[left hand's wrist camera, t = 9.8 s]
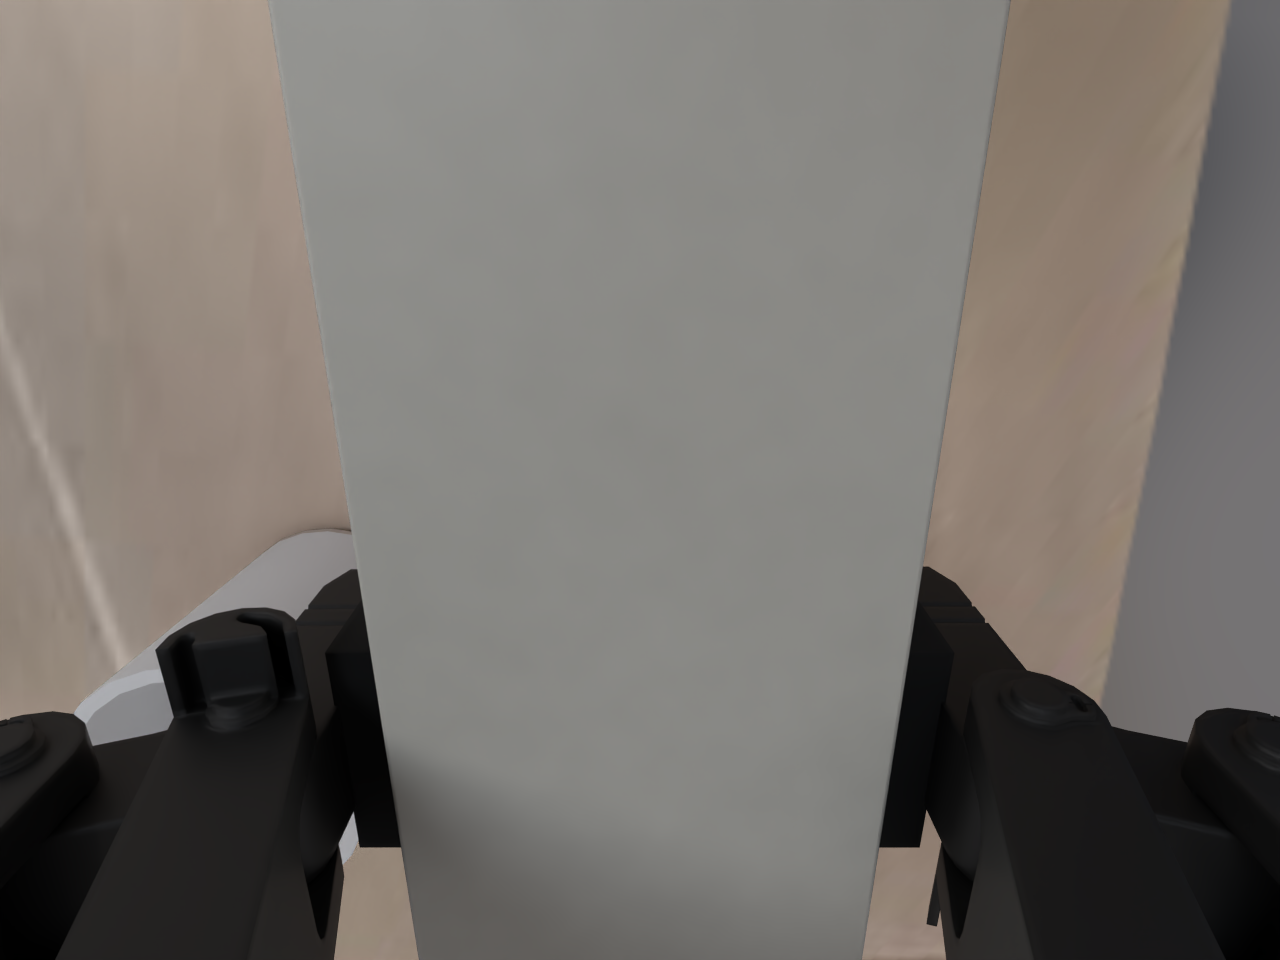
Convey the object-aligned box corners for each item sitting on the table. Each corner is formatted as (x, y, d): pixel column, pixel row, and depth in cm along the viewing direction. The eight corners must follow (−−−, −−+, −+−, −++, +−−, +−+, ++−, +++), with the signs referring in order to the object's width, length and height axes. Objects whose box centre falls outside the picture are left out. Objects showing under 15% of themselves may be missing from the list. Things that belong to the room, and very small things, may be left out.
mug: (327, 472, 29) (173, 608, 20) (492, 616, 32) (427, 800, 22) (166, 634, 32) (-39, 823, 22) (329, 756, 34) (208, 974, 25)
